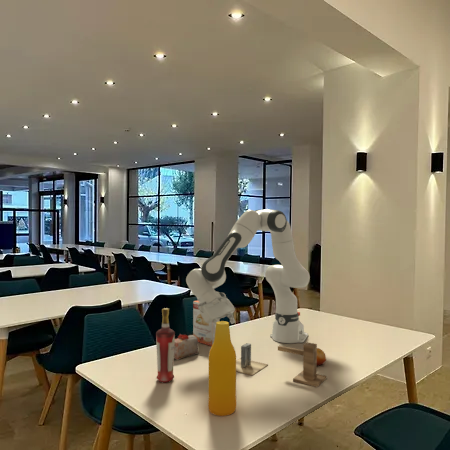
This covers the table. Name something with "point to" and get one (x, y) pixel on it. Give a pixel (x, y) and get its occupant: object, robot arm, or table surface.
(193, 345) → the food item
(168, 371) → the liquor
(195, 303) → the cracker box
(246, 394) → the table surface
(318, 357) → the fruit
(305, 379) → the stand
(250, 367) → the mat
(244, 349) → the arch
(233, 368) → the beer bottle
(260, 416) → the table surface
